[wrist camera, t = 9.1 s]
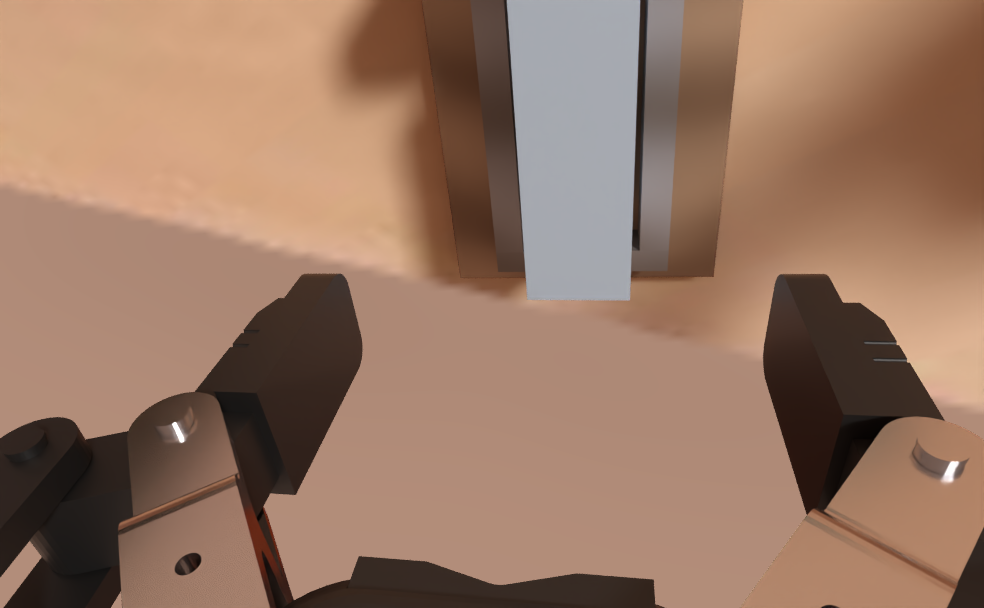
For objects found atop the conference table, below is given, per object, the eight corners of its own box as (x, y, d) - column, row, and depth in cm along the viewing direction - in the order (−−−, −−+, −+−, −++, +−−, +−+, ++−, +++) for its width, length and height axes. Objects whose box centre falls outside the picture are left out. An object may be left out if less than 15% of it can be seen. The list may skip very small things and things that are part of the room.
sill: (406, -169, 23) (309, -190, 16) (759, -215, 21) (845, -264, 14) (464, 265, 33) (422, 383, 25) (710, 263, 31) (743, 390, 23)
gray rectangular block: (533, -48, 24) (505, -18, 17) (631, -57, 23) (641, -29, 16) (545, 203, 29) (527, 299, 22) (624, 201, 28) (630, 300, 22)
